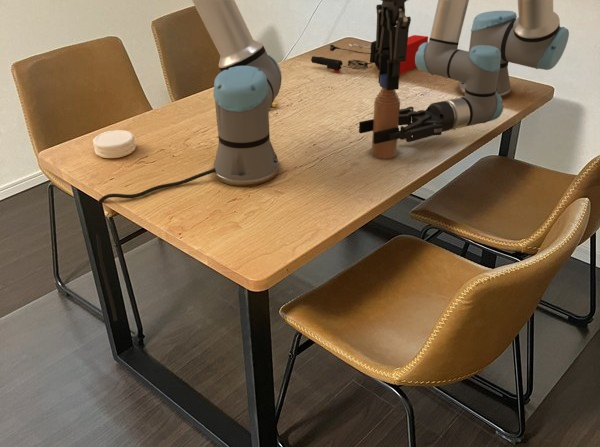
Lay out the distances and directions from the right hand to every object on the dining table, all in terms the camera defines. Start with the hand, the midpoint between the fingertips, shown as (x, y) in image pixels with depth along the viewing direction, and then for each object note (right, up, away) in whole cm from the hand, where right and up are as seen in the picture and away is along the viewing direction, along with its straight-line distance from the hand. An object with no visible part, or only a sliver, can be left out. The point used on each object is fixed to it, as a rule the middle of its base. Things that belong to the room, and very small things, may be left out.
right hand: (367, 132), depth 148 cm
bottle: (+5, -4, +5) cm, 8 cm away
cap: (+4, +12, -5) cm, 14 cm away
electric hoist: (+7, +32, +63) cm, 71 cm away
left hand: (+4, +10, -4) cm, 12 cm away
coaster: (-62, -3, +8) cm, 63 cm away
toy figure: (-28, +13, +34) cm, 46 cm away
